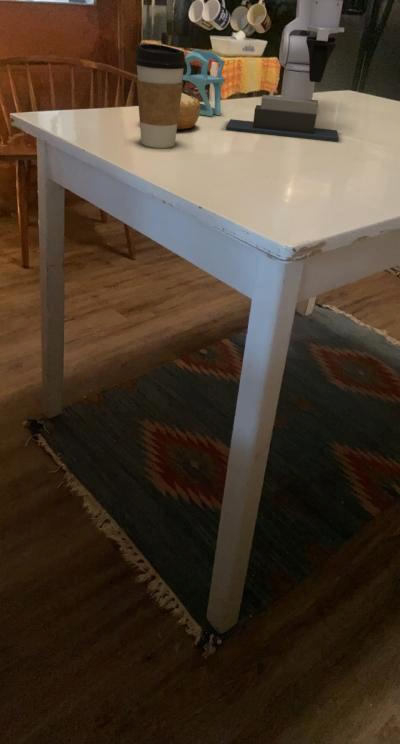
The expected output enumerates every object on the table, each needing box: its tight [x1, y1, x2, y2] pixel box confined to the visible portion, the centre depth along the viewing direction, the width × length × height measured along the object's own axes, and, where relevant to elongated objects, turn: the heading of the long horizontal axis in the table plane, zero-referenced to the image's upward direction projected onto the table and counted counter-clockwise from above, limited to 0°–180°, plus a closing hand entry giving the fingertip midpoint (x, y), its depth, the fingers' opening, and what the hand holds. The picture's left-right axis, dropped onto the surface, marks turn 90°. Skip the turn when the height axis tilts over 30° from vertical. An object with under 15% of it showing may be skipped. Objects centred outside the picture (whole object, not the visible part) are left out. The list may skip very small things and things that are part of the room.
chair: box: [182, 48, 226, 117], centre depth 129 cm, size 8×8×12 cm
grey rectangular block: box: [252, 94, 319, 134], centre depth 119 cm, size 12×4×6 cm, turn 81°
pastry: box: [177, 92, 201, 130], centre depth 116 cm, size 12×12×9 cm
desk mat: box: [225, 118, 340, 143], centre depth 121 cm, size 8×22×1 cm, turn 81°
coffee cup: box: [134, 43, 187, 149], centre depth 101 cm, size 8×8×15 cm
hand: (315, 79), depth 120 cm, fingers open, 7 cm apart
